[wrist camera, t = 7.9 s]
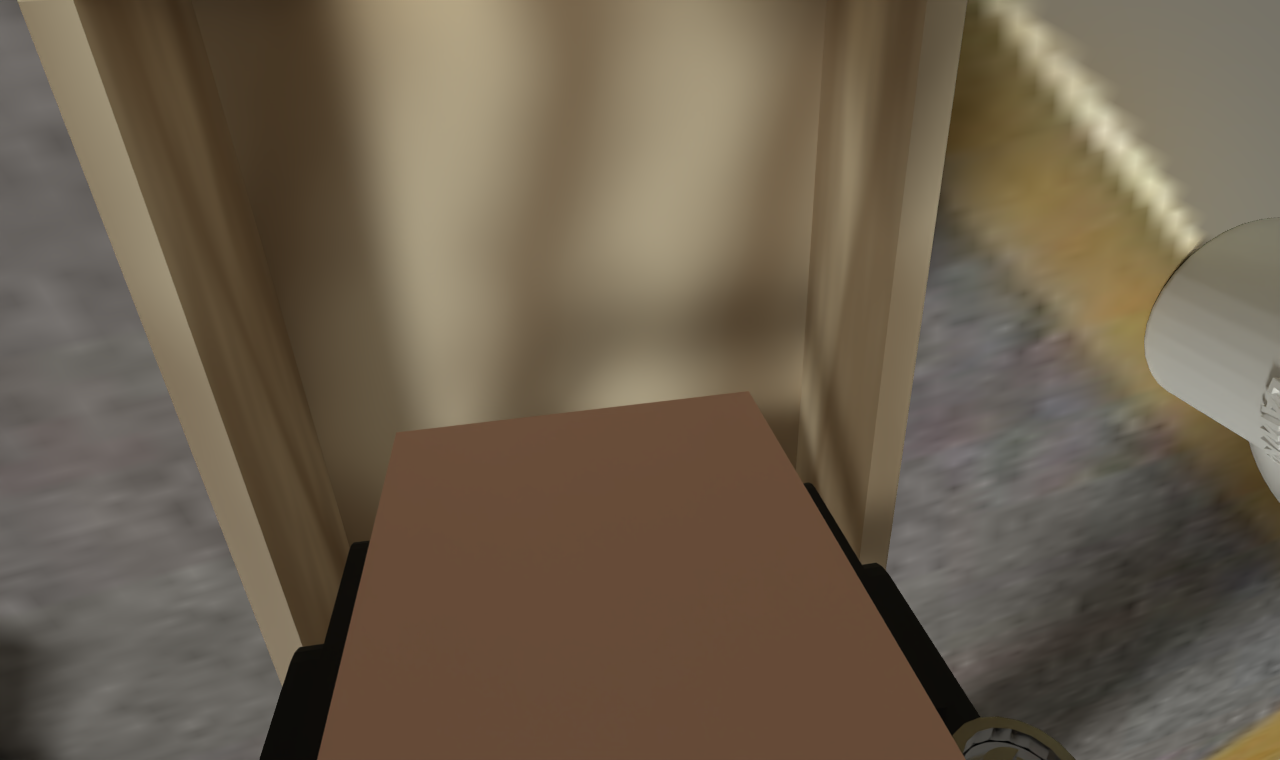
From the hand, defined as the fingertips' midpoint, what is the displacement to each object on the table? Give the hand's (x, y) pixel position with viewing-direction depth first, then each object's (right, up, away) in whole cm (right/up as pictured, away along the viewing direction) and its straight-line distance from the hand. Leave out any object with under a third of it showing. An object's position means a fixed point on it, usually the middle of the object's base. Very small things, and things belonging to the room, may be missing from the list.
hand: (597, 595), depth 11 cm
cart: (-2, +6, +14) cm, 15 cm away
